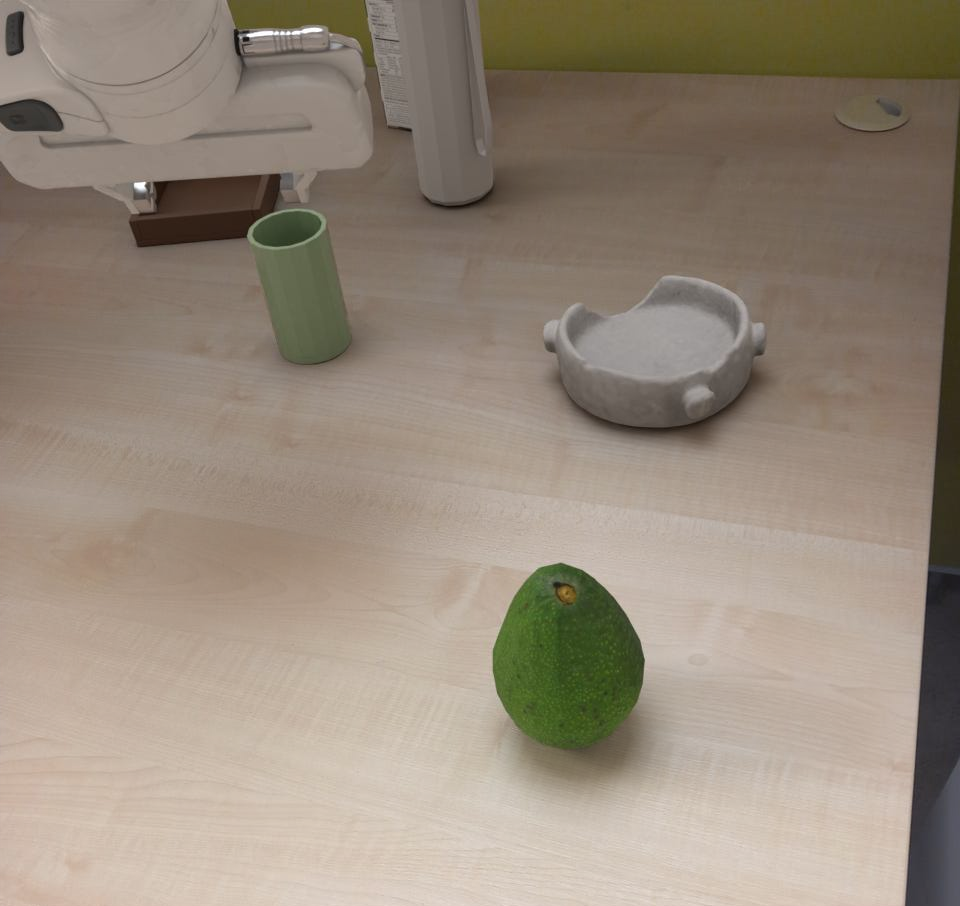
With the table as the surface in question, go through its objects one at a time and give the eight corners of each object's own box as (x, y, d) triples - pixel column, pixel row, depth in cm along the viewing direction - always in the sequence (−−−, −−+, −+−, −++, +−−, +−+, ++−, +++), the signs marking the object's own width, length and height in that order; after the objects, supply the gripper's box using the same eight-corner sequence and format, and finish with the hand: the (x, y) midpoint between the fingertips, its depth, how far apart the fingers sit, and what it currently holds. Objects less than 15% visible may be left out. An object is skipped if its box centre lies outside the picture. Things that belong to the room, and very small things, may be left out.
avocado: (490, 775, 58) (467, 631, 49) (511, 664, 63) (492, 514, 54) (638, 787, 56) (642, 640, 47) (646, 672, 61) (651, 520, 52)
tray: (137, 247, 101) (128, 221, 99) (163, 184, 109) (155, 159, 107) (266, 235, 100) (259, 208, 98) (283, 172, 108) (277, 147, 106)
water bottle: (402, 196, 102) (354, -111, 83) (463, 165, 105) (430, -138, 86) (464, 226, 97) (428, -93, 79) (527, 192, 100) (506, -122, 82)
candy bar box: (439, 84, 119) (418, -86, 106) (477, 90, 117) (459, -83, 104) (382, 127, 113) (353, -48, 100) (420, 134, 111) (395, -44, 98)
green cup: (275, 367, 86) (241, 252, 78) (284, 325, 89) (253, 212, 82) (348, 361, 85) (321, 245, 78) (354, 319, 89) (329, 205, 81)
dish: (523, 384, 81) (519, 326, 77) (651, 307, 86) (653, 250, 82) (663, 469, 73) (665, 410, 69) (795, 379, 78) (804, 319, 74)
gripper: (355, -33, 52) (387, 138, 65) (-60, -4, 52) (59, 160, 66) (360, 86, 51) (392, 234, 64) (-62, 115, 51) (59, 256, 65)
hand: (221, 197), depth 65 cm, fingers open, 8 cm apart
